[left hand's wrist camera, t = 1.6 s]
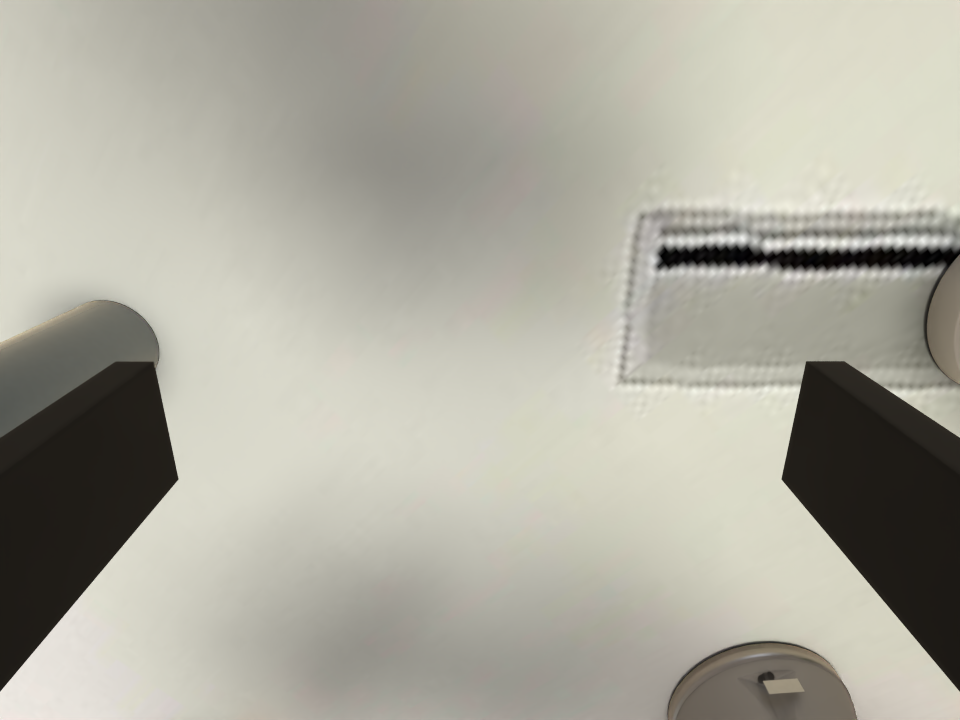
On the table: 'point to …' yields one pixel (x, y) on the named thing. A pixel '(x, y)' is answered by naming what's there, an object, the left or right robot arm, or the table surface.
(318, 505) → the table surface
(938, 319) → the bust sculpture
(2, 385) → the bottle
